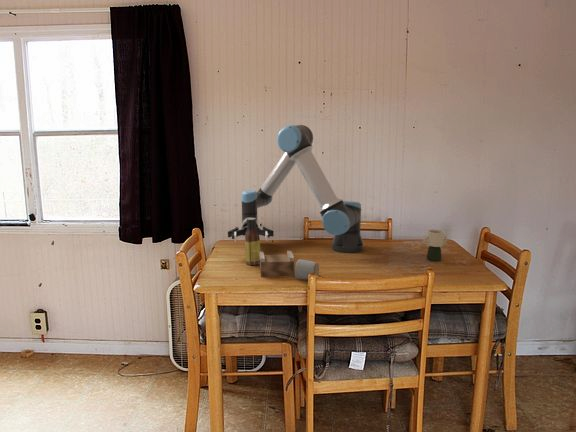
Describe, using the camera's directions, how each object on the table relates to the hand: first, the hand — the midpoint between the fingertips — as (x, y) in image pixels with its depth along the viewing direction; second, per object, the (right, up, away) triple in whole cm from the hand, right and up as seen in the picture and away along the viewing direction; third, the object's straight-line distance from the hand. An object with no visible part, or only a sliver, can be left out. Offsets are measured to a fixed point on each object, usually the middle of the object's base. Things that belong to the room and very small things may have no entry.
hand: (251, 238), depth 208 cm
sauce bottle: (+1, -11, +1) cm, 11 cm away
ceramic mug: (+23, -15, -17) cm, 33 cm away
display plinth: (+11, -13, -11) cm, 20 cm away
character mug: (+80, -10, +7) cm, 81 cm away
